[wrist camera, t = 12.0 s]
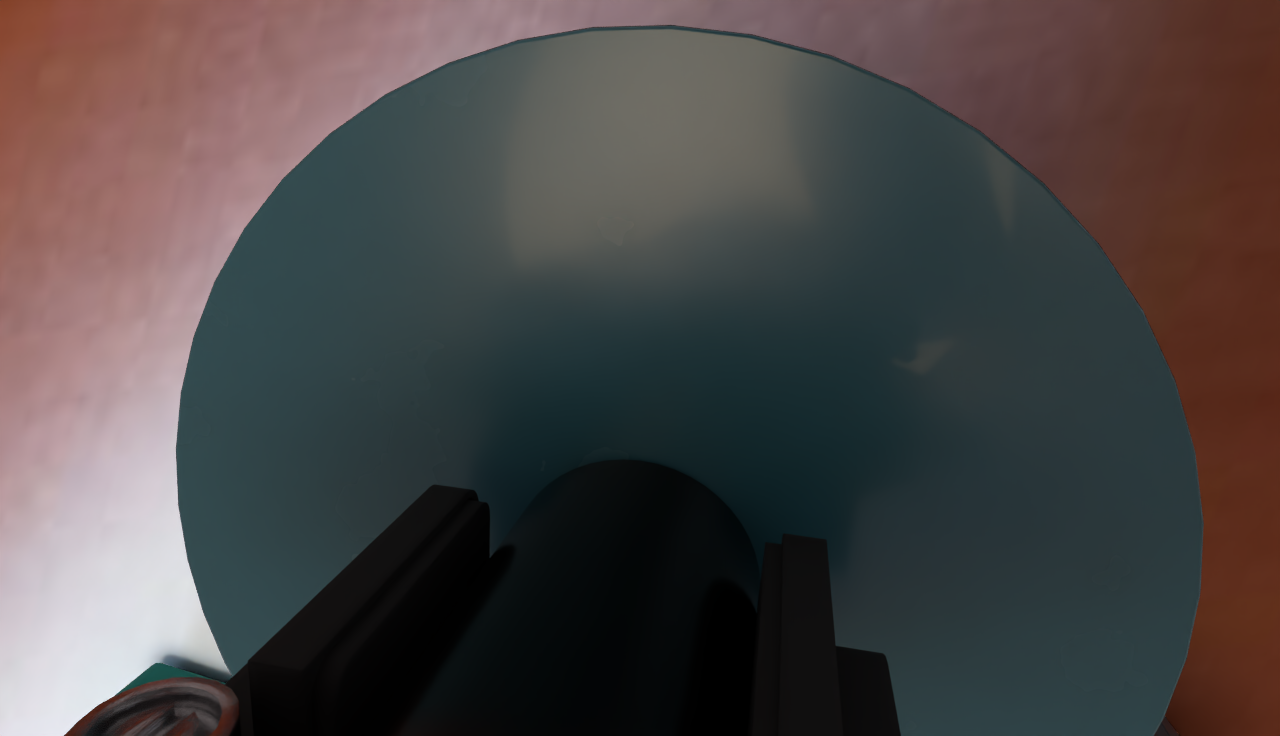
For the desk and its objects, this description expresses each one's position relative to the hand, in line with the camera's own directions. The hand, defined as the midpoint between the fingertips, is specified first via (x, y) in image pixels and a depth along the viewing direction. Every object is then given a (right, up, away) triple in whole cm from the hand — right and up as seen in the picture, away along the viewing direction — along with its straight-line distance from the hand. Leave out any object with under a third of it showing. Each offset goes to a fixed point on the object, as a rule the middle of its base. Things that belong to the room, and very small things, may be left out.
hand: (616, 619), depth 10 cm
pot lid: (0, 0, +2) cm, 2 cm away
